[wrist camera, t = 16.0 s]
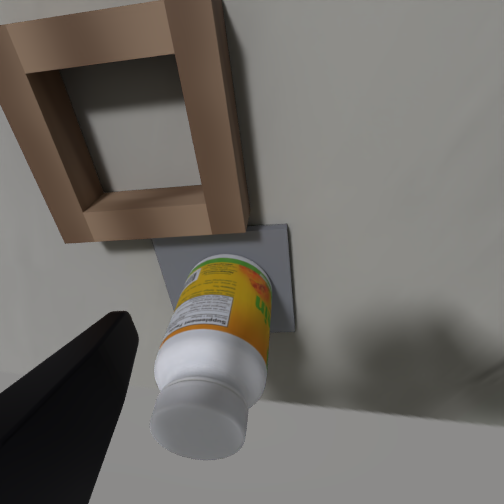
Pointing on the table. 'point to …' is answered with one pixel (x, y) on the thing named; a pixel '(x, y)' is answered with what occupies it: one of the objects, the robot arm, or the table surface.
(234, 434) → the supplement bottle
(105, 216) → the walnut collar
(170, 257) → the rubber mat
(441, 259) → the table surface
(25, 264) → the table surface
